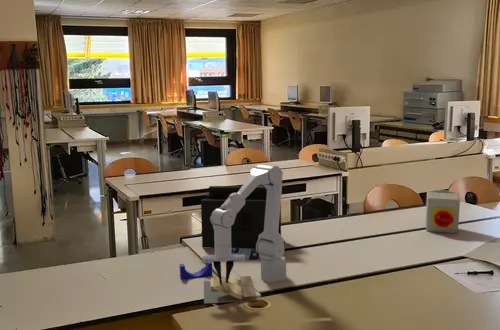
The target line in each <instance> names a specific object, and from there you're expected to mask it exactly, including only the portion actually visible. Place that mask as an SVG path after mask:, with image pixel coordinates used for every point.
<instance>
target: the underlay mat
mask: <svg viewBox="0 0 500 330" xmlns="http://www.w3.org/2000/svg"><path fill="white" fill-rule="evenodd" d="M238 283H239V286H241V282H240V279H238ZM252 283H253V287H254V286H255V285H254V282H253V280H252ZM254 291H255V295H256V300H248V301H247V302H257V301H258V297H257V294H256V289H255V287H254ZM238 302H239V303H240V302H243V303H244V302H245V301H244V298H243V297H242V299H238V298H236V297H233V296H231V295H228V294H226V293H223V292H220V291H218V290H211V281H210V280H204V281H203V304H218V303H221V304H222V303H223V304H224V303H238Z"/></svg>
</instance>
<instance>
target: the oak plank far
mask: <svg viewBox="0 0 500 330" xmlns="http://www.w3.org/2000/svg"><path fill="white" fill-rule="evenodd" d="M214 278H215V277H210V280H209V281H211V290H215V289H214ZM221 278H222V279H223V280H226V276H223V277H222V276H221ZM238 280H239V279H238V276H229V279H228V281H229V282H231V283H234V284H236V285H239V283H238Z"/></svg>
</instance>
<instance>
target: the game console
mask: <svg viewBox="0 0 500 330" xmlns="http://www.w3.org/2000/svg"><path fill="white" fill-rule="evenodd" d="M242 186H243V185H238V186H237V185H210V186H209V187H208V193H205V194H204V198H202V199H201V200H200V209H201V210H200V213H201V245H202V246H201V247H211V248H210V249H215V242H214V229H213V224H212V223H211V221H210V217H211V214H212V212H213V211H214V210H215V209H218V208H220V207H221V206H222V204H224V202H225V201H226V200H227V199H228V198H229V195H230V194H232V193H237V192H238V191H239V190H240V188H241V187H242ZM266 197H267V189H266V188H265V187H264V186H263V185H258V186H257V187H256V188H255V189H254V190H253V191H252V192H251V193H250V194H249V195H248V196H247V197H246V198H245V205H244V206H243V207H242V208H241V209H240V211H239V212H238V213H237V214H236V217H235V221H234V224H233V225H232V226H231V249H232V254H240V255H245V261H248V260H249V261H252V260H253V261H255V260H261V257H259V253H257V251H256V244H257V241H258V237H259V235H260V234H261V233H262V232H263V231H264V222H265V209H266ZM278 232H279V234H280V235H281V236H282V204H281V205H280V217H279V229H278ZM212 247H213V248H212Z"/></svg>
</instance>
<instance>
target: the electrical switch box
mask: <svg viewBox="0 0 500 330" xmlns="http://www.w3.org/2000/svg"><path fill="white" fill-rule="evenodd" d="M460 201H461V199H460V196H459V192H455V191H451V190H447V189H446V190H445V189H439V190H429V191H427V192H426V206H425V207H426V211H425V231H426V232H433V233H448V234H449V233H450V234H457V233H458V232H459V223H460V208H461V207H460V205H461V202H460Z"/></svg>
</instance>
